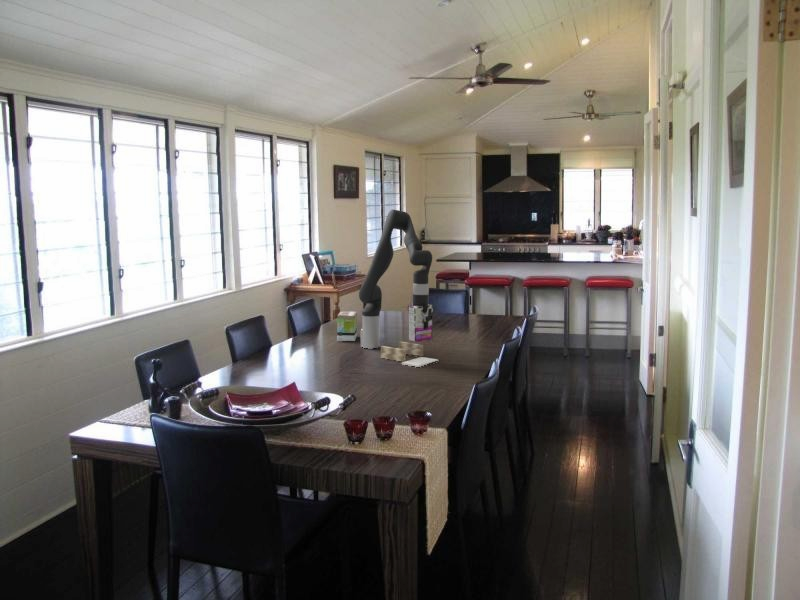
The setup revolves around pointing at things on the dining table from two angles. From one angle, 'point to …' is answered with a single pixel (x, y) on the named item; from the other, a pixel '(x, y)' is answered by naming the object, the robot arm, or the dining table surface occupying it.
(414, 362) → the white panel
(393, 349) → the dispenser rack
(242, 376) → the dining table surface
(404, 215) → the robot arm
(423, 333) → the candy bar box
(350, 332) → the tea box
